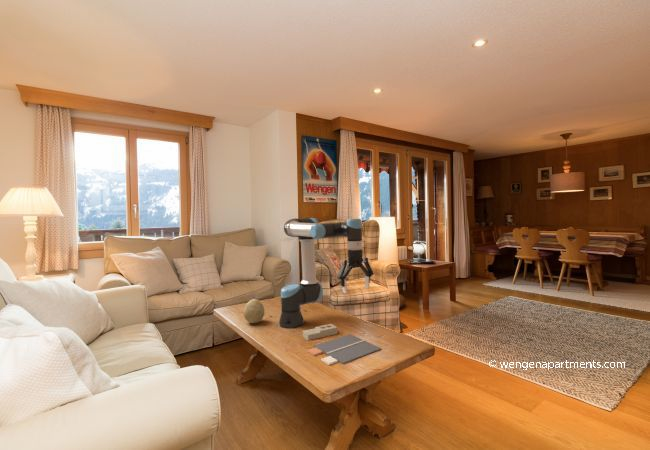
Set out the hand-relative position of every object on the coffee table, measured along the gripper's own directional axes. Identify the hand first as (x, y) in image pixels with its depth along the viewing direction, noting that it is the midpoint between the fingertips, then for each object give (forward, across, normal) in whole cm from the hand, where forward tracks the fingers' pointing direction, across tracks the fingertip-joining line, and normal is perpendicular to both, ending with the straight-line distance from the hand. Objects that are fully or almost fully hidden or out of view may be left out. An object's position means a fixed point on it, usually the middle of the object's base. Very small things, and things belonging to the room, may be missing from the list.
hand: (356, 290), depth 162 cm
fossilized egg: (+28, -37, +61) cm, 77 cm away
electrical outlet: (+28, -11, +22) cm, 37 cm away
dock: (+28, -10, -1) cm, 29 cm away
